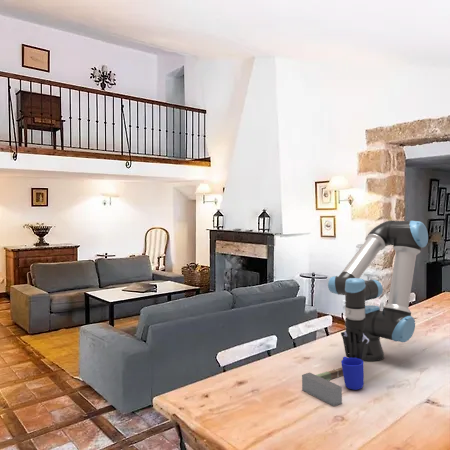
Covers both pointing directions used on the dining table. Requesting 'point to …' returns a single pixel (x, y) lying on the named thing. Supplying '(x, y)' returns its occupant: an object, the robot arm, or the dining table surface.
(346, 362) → the mug
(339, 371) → the brown and green stick
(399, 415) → the dining table surface
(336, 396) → the grooved grey block
